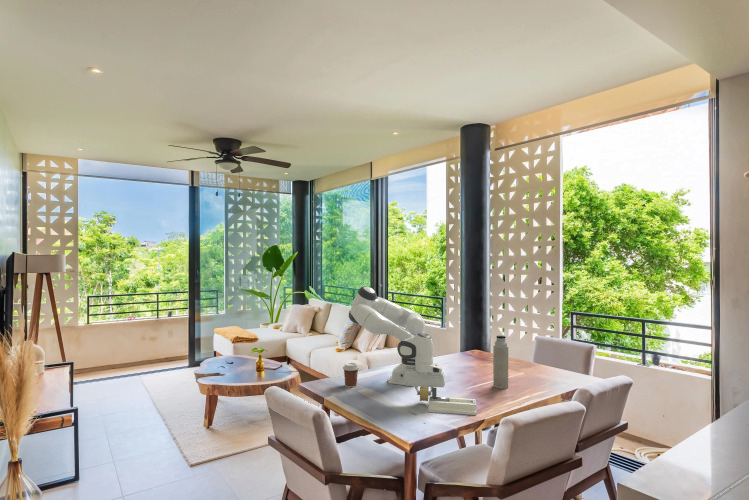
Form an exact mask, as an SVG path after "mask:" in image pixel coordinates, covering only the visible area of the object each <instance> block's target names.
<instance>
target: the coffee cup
mask: <svg viewBox="0 0 749 500" xmlns="http://www.w3.org/2000/svg"><path fill="white" fill-rule="evenodd" d="M359 369H360V367H359V366H358V364H357V363H355V362H346V363H345V364H344V366H342V370H343V373H344V374H343V375H344V386H345V387H346V386H347V387H346V388H350V387H352V388H356V387H357V385H358V371H359Z"/></svg>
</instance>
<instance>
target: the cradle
mask: <svg viewBox="0 0 749 500" xmlns="http://www.w3.org/2000/svg"><path fill="white" fill-rule="evenodd" d="M430 397H432V395H431V396H429V399H428V401H427V404H428V407H427V412H429V413H442V414H443V413H444V414H458V415H469V416H477V413H478V412H477V399H475V398H464V397H463V398H462V397H446V396H444V397H445V398H449V402H442V401H430Z"/></svg>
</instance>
